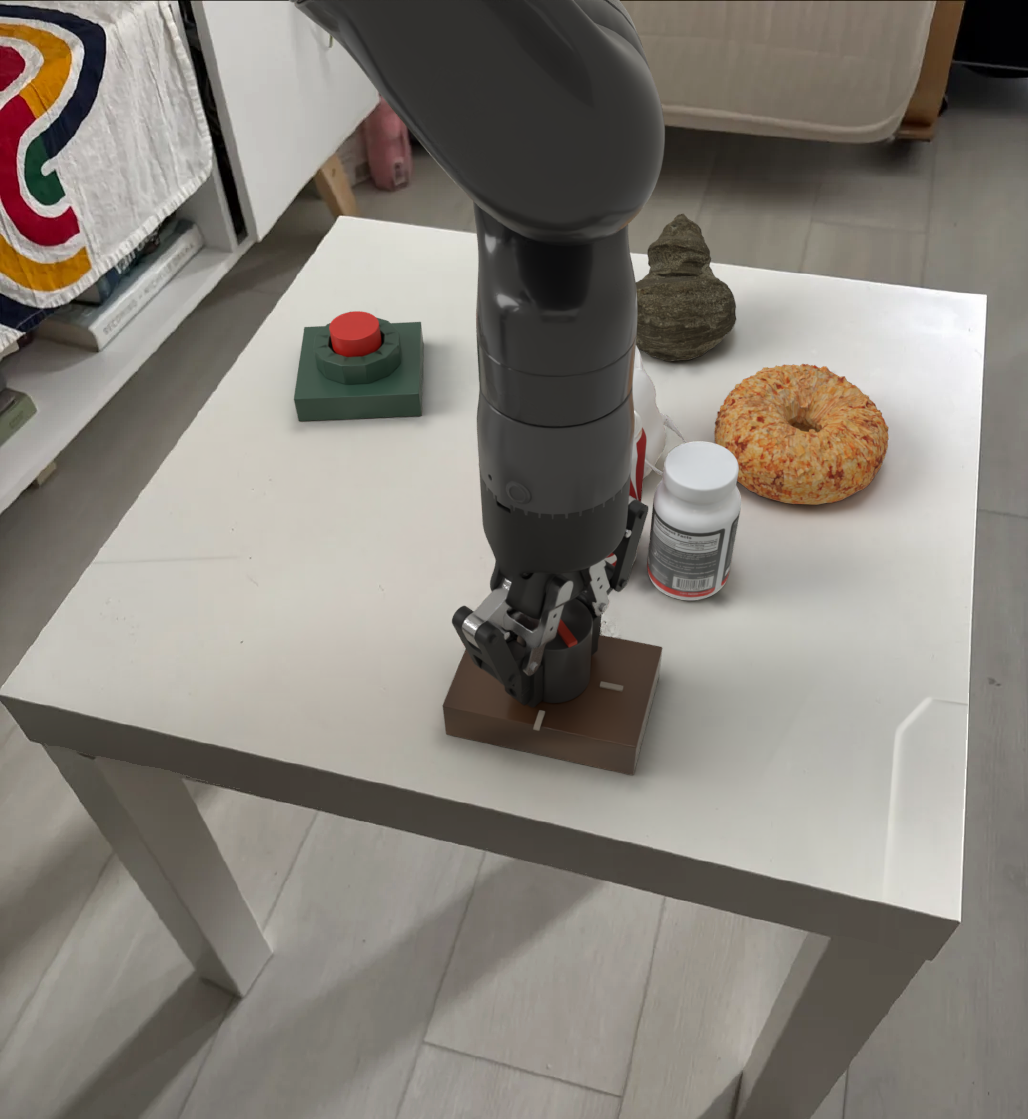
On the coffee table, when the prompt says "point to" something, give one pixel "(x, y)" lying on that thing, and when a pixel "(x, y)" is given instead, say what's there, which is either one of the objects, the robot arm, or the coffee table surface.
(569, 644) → the rotary knob
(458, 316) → the coffee table surface
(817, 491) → the bagel
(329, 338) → the button box
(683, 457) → the pill bottle
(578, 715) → the knob panel
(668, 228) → the seashell
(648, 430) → the elephant figurine
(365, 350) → the red button
